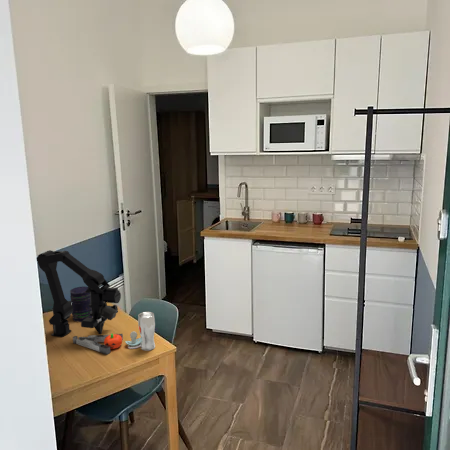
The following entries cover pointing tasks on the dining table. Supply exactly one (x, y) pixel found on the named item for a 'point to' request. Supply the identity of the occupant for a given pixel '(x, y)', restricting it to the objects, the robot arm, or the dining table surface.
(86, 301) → the storage jar
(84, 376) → the dining table surface
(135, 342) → the pacifier
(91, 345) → the tong base
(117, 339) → the pumpkin
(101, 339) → the tong leg
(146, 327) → the silver drink can
